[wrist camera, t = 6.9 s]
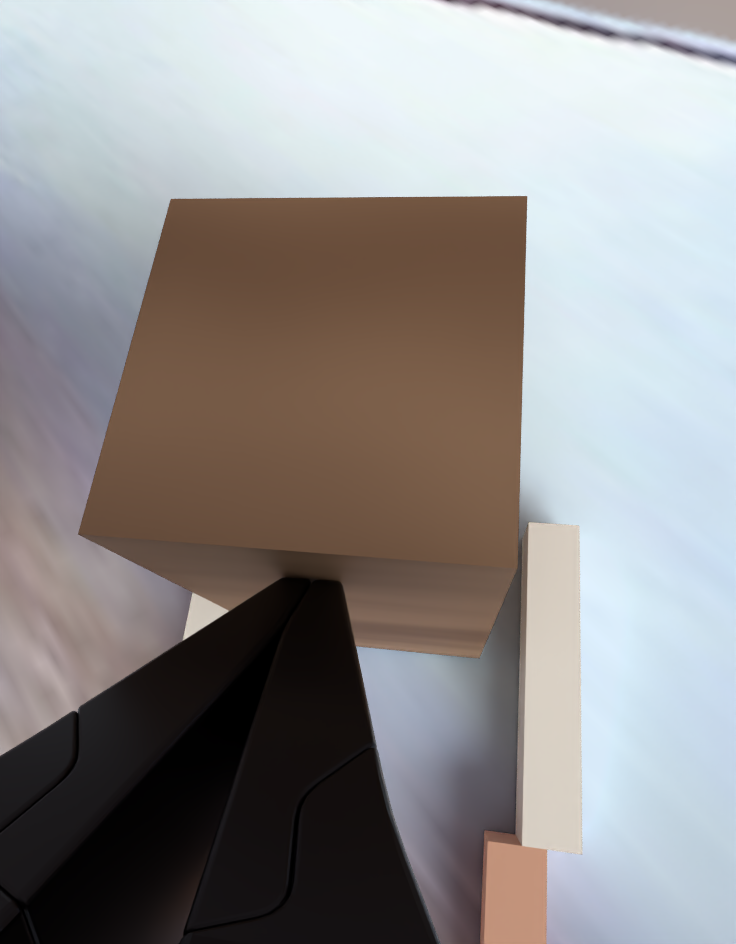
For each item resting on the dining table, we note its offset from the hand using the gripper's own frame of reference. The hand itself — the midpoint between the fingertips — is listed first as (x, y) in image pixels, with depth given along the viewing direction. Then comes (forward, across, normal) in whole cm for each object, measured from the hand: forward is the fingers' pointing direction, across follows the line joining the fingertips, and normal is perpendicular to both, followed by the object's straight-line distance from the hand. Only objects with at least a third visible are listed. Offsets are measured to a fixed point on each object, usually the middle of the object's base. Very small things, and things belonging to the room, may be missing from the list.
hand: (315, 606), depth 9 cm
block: (+8, 0, +4) cm, 8 cm away
